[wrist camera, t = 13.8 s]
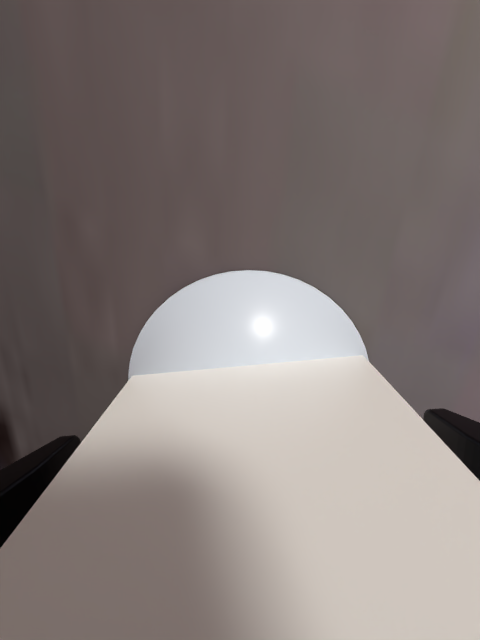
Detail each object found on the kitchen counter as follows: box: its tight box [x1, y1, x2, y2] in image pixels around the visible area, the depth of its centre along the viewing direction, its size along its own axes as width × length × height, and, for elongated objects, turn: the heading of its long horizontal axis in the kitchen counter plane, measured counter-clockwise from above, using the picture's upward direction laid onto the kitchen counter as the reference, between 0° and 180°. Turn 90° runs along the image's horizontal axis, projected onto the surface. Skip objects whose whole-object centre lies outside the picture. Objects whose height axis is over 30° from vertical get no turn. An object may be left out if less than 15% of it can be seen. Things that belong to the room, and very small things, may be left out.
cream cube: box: [0, 355, 480, 640], centre depth 7 cm, size 8×8×8 cm
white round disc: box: [128, 270, 369, 381], centre depth 10 cm, size 8×8×1 cm
